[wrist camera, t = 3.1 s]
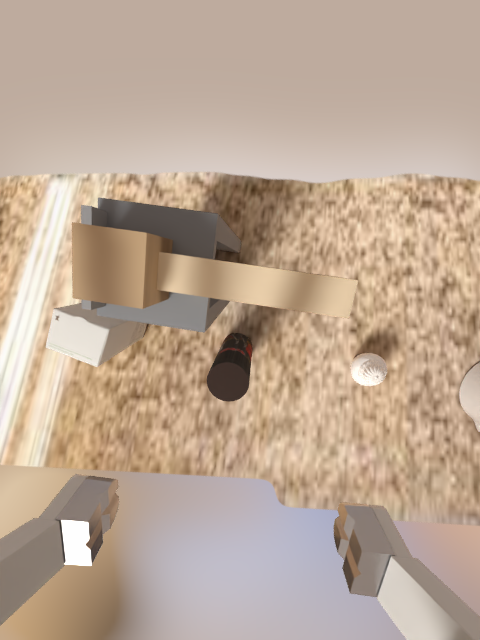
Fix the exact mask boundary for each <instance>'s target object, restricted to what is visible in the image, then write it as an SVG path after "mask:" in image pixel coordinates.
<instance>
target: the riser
mask: <svg viewBox="0 0 480 640" xmlns="http://www.w3.org/2000/svg"><path fill="white" fill-rule="evenodd" d="M81 224H88V225H95V226H102V227H109V228H116V229H123V230H131V231H138V232H145V233H149V234H153V235H157V236H160V237H164V238H168V239H171V240H173V245H172V254H179V255H186V256H193V257H200V258H207V259H214V260H215V254H216V250H222V251H230V252H237V253H240V248H241V241H240V239H239V238H238V237H237V236H236V235H235V233H234V232H233V231H232V230H231V229H230V228H229V226H228V225H227V224H226V223H225V222H224V220H223V219H222V218H221V217H220V216H219V214H216V213H209V212H201V211H194V210H187V209H179V208H172V207H164V206H157V205H149V204H142V203H135V202H127V201H120V200H112V199H105V198H98V208H95V207H92V206H85V205H81ZM229 302H230V301H228V300H221V299H215V298H208V297H201V296H195V295H188V294H181V293H175V292H169V298H168V299H167V300H165V301H162V302H159V303H157V304H154V305H152V306H149V307H146V308H144V309H140V308H133V307H127V306H121V305H114V304H108V303H101V302H95V301H88V300H82V309H87V310H93V309H97V316H103V317H109V318H115V319H122V320H128V321H135V322H141V323H147V324H154V325H160V326H167V327H173V328H179V329H186V330H192V331H198V332H205V331H206V330H207V329H208V328H209V326H210V325H211V324H212V323H213V321H214V320H215V319H216V318H217V317H218V315H219V314H220V313H221V312H222V310H223V309H224V308H225V307H226V305H227V304H228V303H229Z"/></svg>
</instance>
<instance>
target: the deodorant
mask: <svg viewBox="0 0 480 640" xmlns="http://www.w3.org/2000/svg"><path fill="white" fill-rule="evenodd" d="M251 357H252V344H251V341H250V340H249V339H248V337H246V336H245V335H243V334H239V333H235V334H231V335H229V336H228V337H226V339H225V340H224V342H223V344H222V346H221V348H220V350H219V352H218V354H217V357H216V359H215V361H214V363H213V365H212V367H211V369H210V371H209V374H208V376H207V385H208V388H209V390H210V392H211V393H212V394H213V395H214V396H215V397H216V398H218V399H220V400H223V401H235V400H238V399H240V398H241V397H243V396H244V394H245V393H246V392H247V390H248V387H249V378H250V367H251Z"/></svg>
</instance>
